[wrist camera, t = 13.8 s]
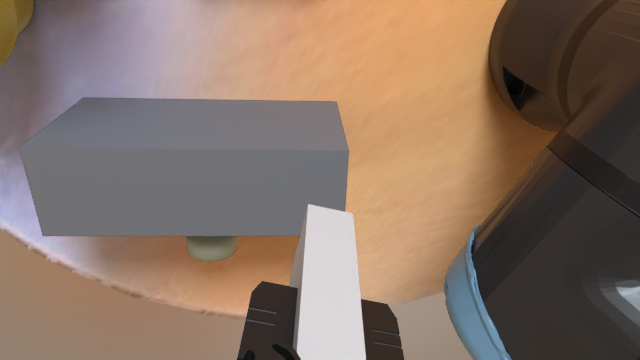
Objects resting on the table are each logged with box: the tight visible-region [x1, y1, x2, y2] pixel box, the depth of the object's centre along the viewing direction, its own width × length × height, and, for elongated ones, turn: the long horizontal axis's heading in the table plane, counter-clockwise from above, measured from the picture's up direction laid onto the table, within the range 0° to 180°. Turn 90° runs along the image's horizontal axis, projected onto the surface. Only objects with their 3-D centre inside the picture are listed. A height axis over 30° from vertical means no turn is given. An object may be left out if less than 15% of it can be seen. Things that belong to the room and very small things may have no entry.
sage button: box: [186, 236, 238, 261], centre depth 42 cm, size 4×6×4 cm
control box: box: [19, 98, 349, 236], centre depth 39 cm, size 22×7×11 cm, turn 88°
